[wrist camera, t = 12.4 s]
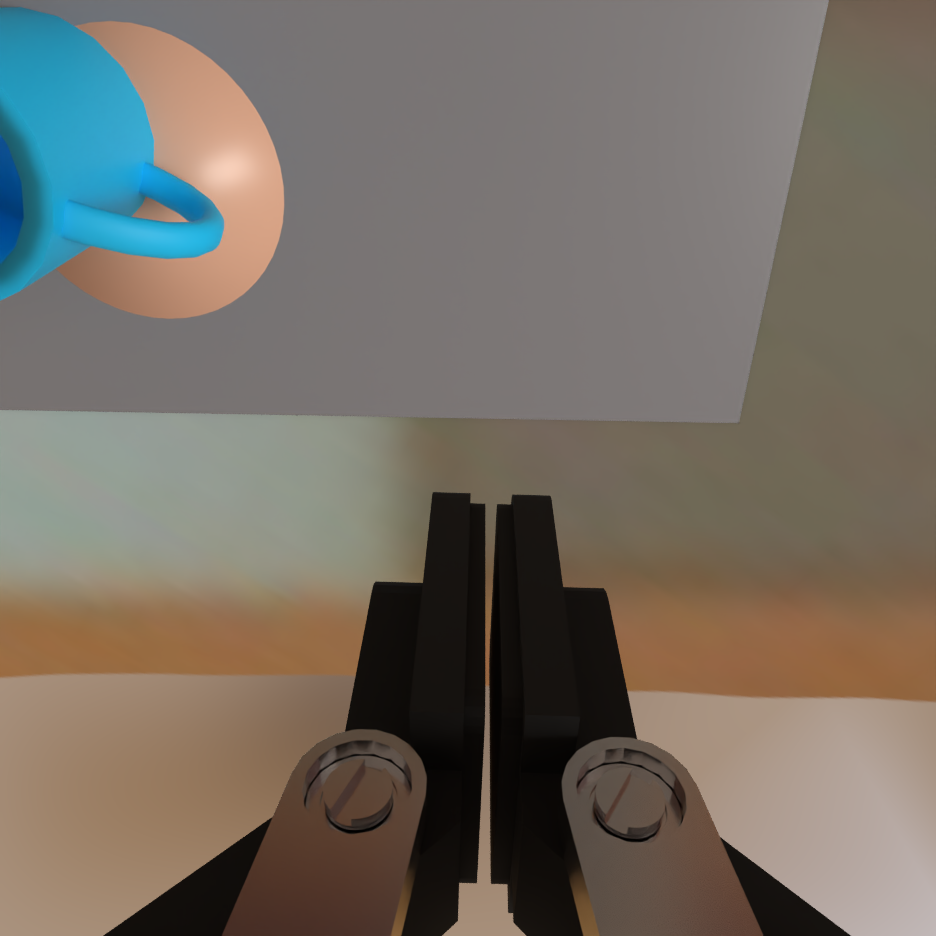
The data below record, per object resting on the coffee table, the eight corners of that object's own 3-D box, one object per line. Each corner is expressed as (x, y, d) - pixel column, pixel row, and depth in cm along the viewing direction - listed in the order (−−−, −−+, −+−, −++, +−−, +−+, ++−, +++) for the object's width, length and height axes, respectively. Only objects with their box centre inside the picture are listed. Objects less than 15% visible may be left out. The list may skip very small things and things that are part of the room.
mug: (-72, 194, 31) (-236, 252, 24) (-64, -35, 27) (-258, -46, 20) (227, 304, 33) (158, 388, 26) (276, 107, 29) (209, 143, 22)
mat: (-195, -142, 25) (-197, -142, 25) (855, -131, 25) (857, -132, 25) (-8, 408, 36) (-9, 409, 36) (738, 421, 35) (738, 423, 35)
